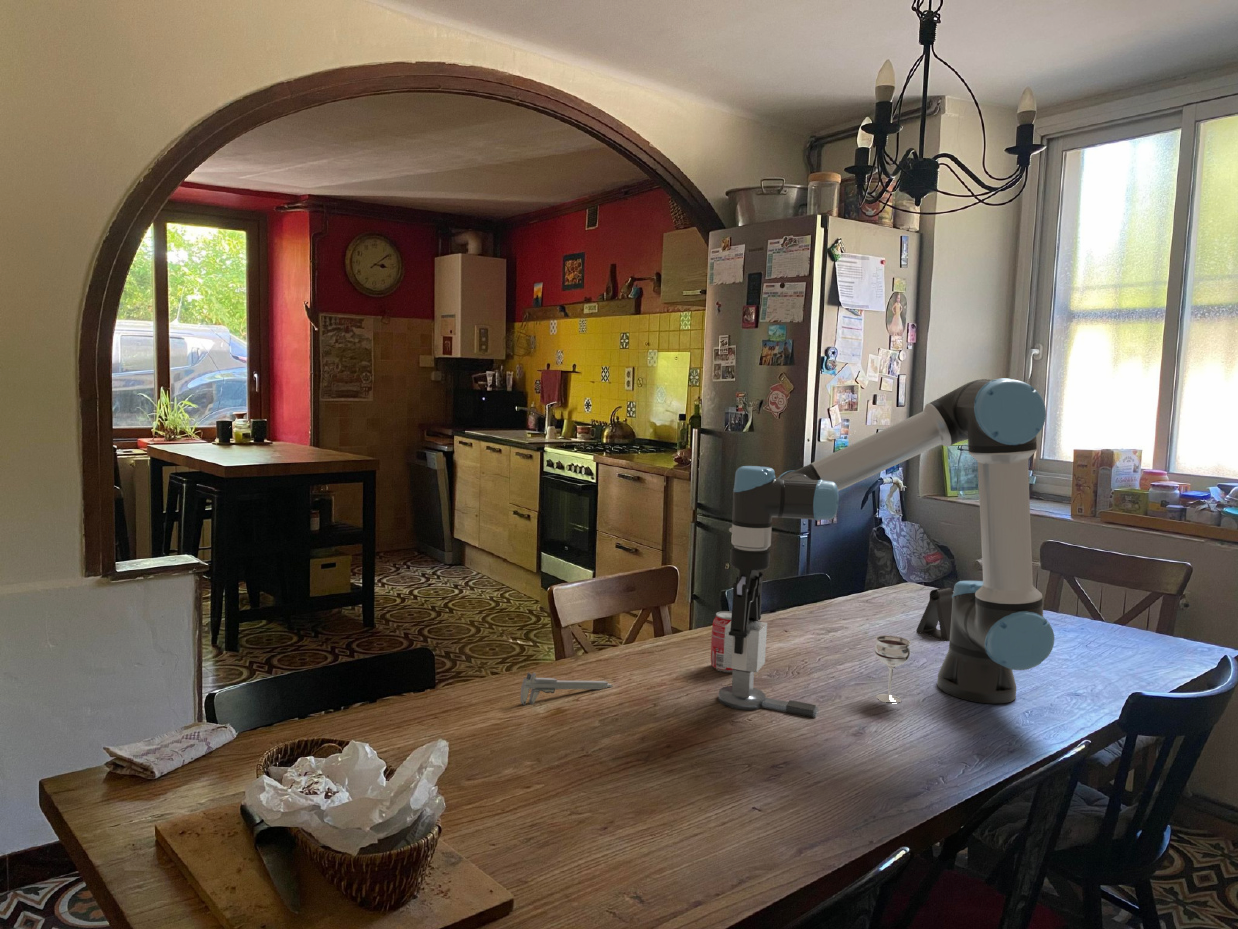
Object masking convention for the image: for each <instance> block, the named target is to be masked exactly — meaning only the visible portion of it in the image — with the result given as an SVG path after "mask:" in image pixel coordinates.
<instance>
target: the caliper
mask: <svg viewBox="0 0 1238 929" xmlns="http://www.w3.org/2000/svg"><path fill="white" fill-rule="evenodd" d="M526 674H527V675H526V677H524V678H523V679H522V684H521V688H520V703H521V704H522V705H523V706H526V703H527V699H528V695H529V692H530V695H529V701H528V703H529V704H530V705H533V704H535V702H536V700H537V698H538V696H539V694H540V692H544V693H545V694H555V691H556V690H600V689H601V690H603V689H602V688H605V689H607V688H613V685H612V684H610V683H609V682H608V681H606V680H558V679H557V678H553V677H537V673H535V672H532V674H531V673H530V672H527V673H526ZM530 690H531V691H530Z"/></svg>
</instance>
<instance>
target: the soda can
mask: <svg viewBox="0 0 1238 929" xmlns="http://www.w3.org/2000/svg"><path fill="white" fill-rule="evenodd" d="M731 617H732V610H729V611H728V610H722V611H718V612H716V613H715V617H714V619H713V621H712V627H711V641H710V643H711V644H710V665H711V666H712V667H713V668H714V669H715V668H716V669H717V670H716V669H715V670H716V671H718V672H721V671H724V672H723V673H733V669H732V668H727V667H723V658H724V639H725V626H726V625H727V624H728V623H729V622H730V621H731Z"/></svg>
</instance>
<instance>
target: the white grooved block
mask: <svg viewBox="0 0 1238 929" xmlns="http://www.w3.org/2000/svg"><path fill="white" fill-rule="evenodd" d="M758 621H759V620H758ZM758 621H751V620H749V621H748V628H747V636H748V647H747V665H746V671H750V672H754V673H758V672H759V670H761V668H762V667H763V666H764V665H765V664H766V652H767V651H766V649H767V633H768V622H763V621H762V622H758ZM730 629H731V621H730V622H729V623H728V624H727V625H726V626H725V639H724V658H723V667H727V668H731V667H732V649H733V636H731V635H729V632H730ZM738 630H739V629H738Z"/></svg>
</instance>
